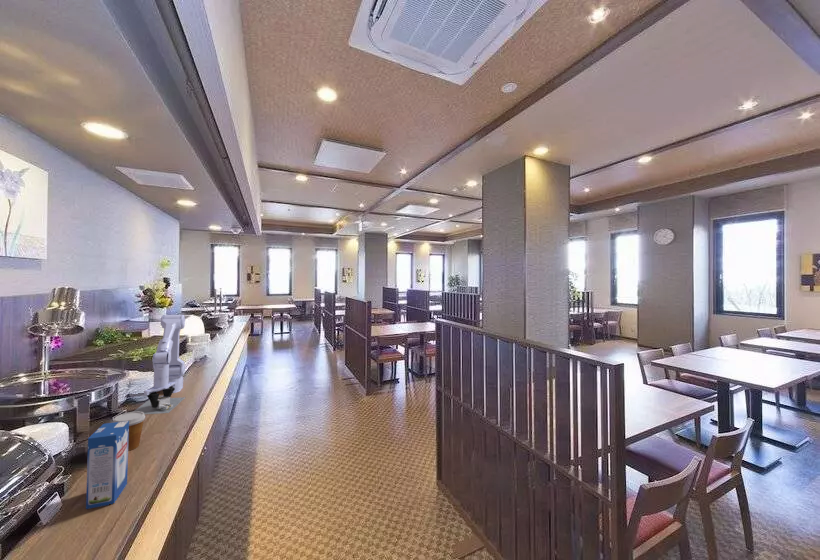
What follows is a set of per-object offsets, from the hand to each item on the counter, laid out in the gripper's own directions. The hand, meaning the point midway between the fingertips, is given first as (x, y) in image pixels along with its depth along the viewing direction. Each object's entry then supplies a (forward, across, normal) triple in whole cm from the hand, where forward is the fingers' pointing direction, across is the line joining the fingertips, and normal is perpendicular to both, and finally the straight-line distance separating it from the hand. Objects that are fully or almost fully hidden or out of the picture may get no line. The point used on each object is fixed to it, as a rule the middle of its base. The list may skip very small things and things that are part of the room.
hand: (160, 405), depth 158 cm
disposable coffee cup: (+3, -29, -21) cm, 36 cm away
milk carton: (+3, -50, -44) cm, 67 cm away
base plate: (+3, +2, +4) cm, 5 cm away
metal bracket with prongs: (+1, 0, -1) cm, 2 cm away
